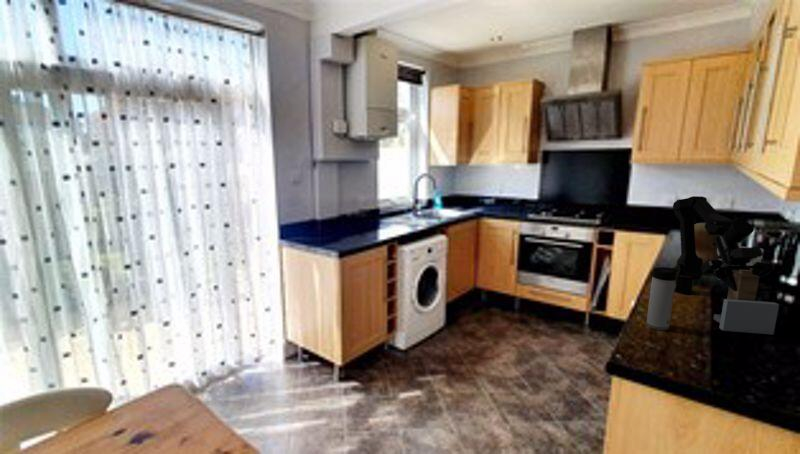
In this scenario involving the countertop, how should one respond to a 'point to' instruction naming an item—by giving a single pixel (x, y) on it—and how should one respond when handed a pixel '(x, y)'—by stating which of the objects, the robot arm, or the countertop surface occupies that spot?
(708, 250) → the butternut squash
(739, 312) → the grey stool
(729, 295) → the brown box with handle
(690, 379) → the countertop surface
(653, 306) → the travel mug
